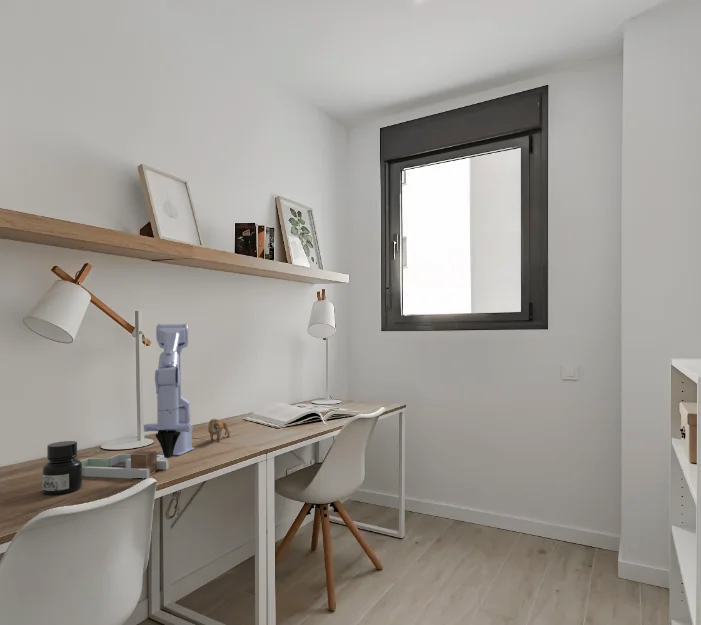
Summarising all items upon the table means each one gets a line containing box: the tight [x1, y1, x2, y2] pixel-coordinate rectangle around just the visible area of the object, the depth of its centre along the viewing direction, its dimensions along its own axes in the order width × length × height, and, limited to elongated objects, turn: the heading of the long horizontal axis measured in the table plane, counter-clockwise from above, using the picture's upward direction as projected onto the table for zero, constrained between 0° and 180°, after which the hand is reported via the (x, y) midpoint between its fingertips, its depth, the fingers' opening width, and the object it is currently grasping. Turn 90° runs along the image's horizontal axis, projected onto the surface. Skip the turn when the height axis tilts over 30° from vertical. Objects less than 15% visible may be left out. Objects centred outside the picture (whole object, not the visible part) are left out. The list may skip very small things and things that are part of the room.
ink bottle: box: [41, 440, 83, 495], centre depth 130 cm, size 10×9×12 cm
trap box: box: [80, 453, 170, 480], centre depth 148 cm, size 16×28×2 cm, turn 77°
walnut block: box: [130, 449, 158, 474], centre depth 144 cm, size 5×5×6 cm
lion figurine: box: [207, 418, 231, 443], centre depth 187 cm, size 15×5×9 cm, turn 177°
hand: (168, 457), depth 142 cm, fingers closed
